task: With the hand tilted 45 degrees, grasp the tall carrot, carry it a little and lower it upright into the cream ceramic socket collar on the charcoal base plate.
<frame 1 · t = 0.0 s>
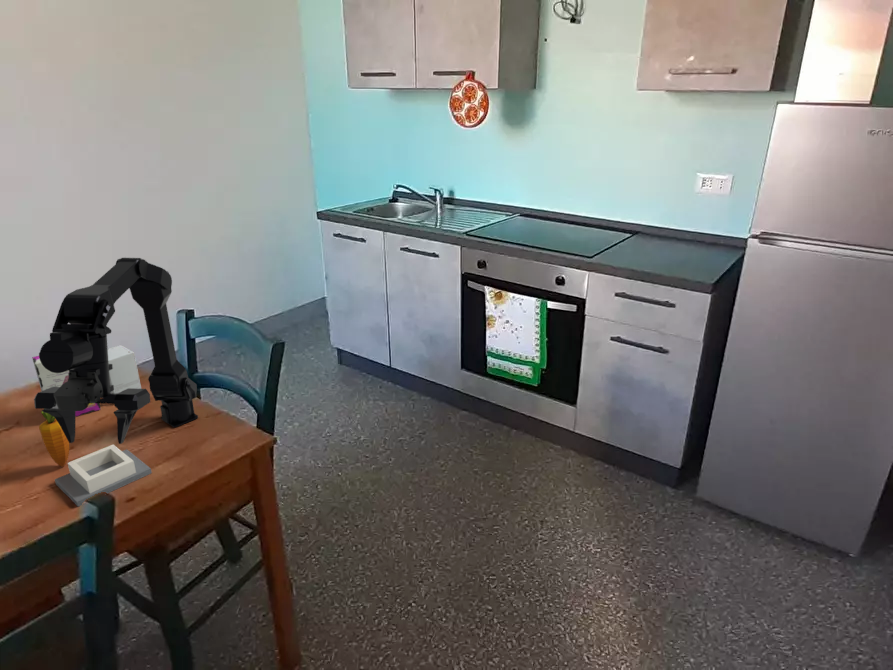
hand: (96, 442, 118), 15 cm above the table, tool pointing down, fingers open, 9 cm apart
candy bar box: (74, 413, 158), on the table
socket: (104, 478, 134), on the table
carrot: (63, 467, 137), on the table
supplement box: (122, 396, 166), on the table
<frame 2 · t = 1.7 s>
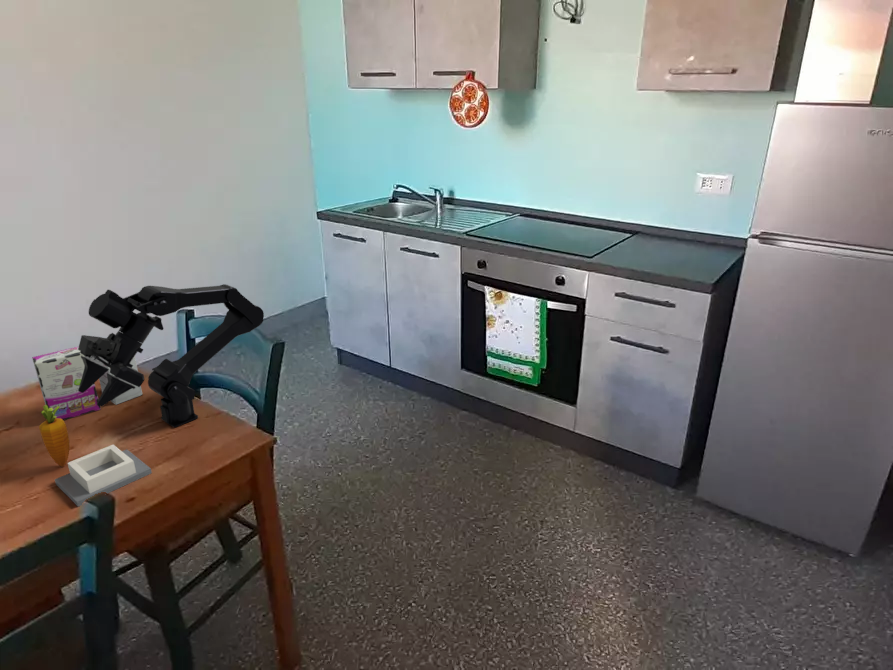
hand: (89, 398, 138), 13 cm above the table, tool tilted 45°, fingers open, 9 cm apart
nothing on the table moved.
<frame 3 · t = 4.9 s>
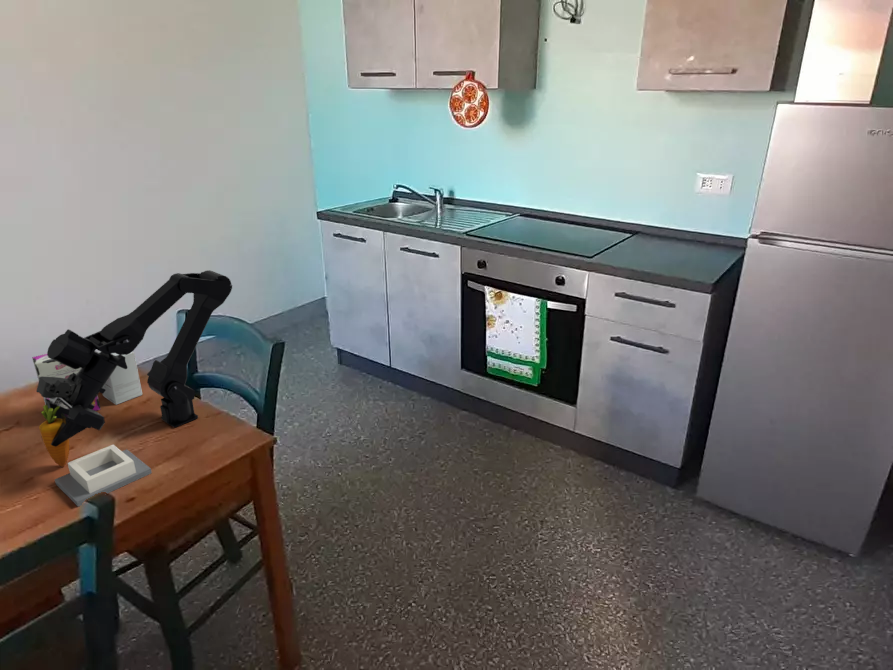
hand: (48, 441, 133), 7 cm above the table, tool tilted 45°, fingers closed on carrot, 5 cm apart
carrot: (63, 467, 137), on the table, touching gripper
everything else where it was.
when the fingers open (9 cm above the table, at t = 9.6 s): carrot stays where it is, resting on socket.
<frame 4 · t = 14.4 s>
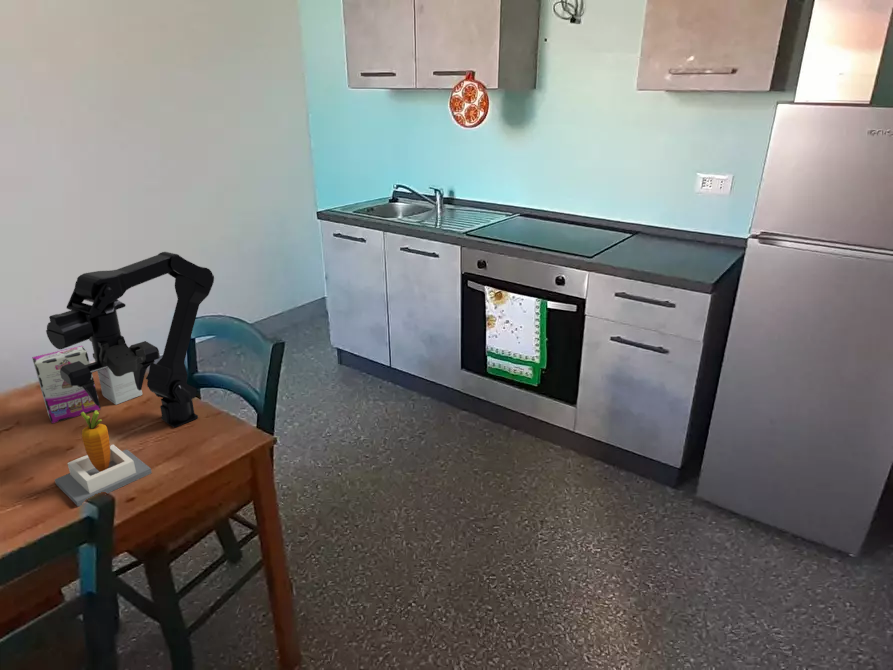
hand: (118, 397, 140), 13 cm above the table, tool pointing down, fingers open, 9 cm apart
carrot: (104, 474, 133), point 1 cm above the table, touching socket
everything else where it was.
at the end: carrot 0.2 cm off-centre on the socket, point 1.0 cm above the socket's base; carrot tilted 1°; the gripper is holding nothing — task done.
